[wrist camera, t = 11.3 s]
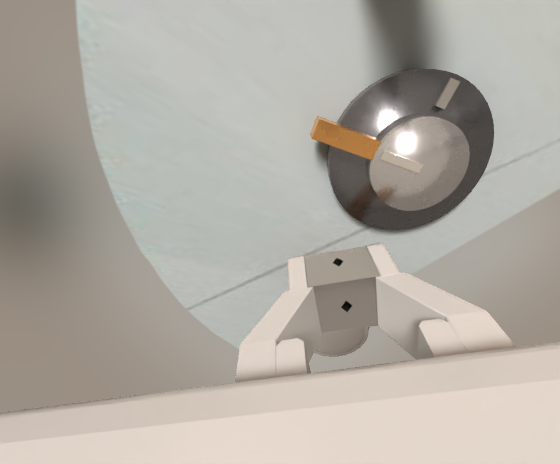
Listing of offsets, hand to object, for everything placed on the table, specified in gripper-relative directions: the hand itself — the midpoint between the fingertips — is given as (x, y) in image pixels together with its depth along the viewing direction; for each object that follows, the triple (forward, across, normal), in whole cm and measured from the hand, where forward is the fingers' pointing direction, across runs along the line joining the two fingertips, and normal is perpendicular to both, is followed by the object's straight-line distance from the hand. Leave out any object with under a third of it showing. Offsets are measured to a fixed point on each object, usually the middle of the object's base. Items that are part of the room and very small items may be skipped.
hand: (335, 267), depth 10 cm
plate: (+31, -13, +8) cm, 35 cm away
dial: (+29, -10, +6) cm, 31 cm away
